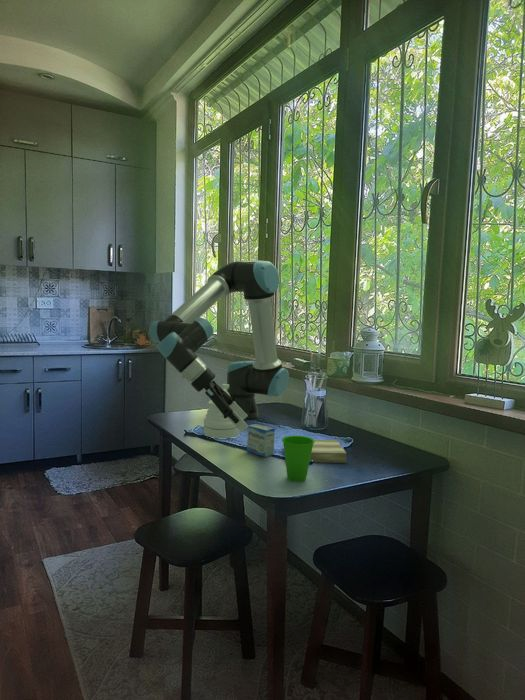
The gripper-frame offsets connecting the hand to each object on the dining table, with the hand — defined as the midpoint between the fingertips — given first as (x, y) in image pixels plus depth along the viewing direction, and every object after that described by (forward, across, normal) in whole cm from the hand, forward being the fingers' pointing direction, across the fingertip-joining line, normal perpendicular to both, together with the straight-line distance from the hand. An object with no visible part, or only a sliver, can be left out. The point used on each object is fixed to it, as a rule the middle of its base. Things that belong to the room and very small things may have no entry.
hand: (245, 423), depth 155 cm
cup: (+17, +21, +3) cm, 27 cm away
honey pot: (+1, -22, -13) cm, 25 cm away
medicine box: (+11, -1, -3) cm, 11 cm away
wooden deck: (+22, 0, +9) cm, 24 cm away
